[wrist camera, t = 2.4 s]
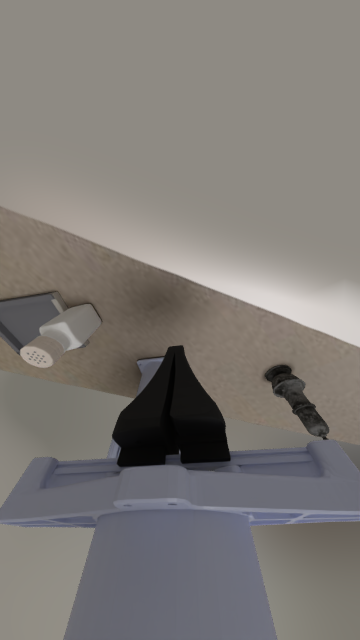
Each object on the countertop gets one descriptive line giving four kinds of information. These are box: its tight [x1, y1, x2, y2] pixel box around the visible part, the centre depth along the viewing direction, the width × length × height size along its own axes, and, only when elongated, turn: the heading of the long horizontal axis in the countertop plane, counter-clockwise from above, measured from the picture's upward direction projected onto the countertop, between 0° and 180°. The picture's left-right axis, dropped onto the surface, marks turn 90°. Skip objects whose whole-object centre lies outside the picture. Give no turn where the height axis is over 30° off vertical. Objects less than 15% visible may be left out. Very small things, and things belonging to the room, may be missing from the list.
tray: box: [0, 291, 89, 355], centre depth 23 cm, size 10×13×1 cm
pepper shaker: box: [20, 304, 102, 368], centre depth 19 cm, size 4×4×10 cm
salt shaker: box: [265, 365, 329, 440], centre depth 25 cm, size 6×6×12 cm
